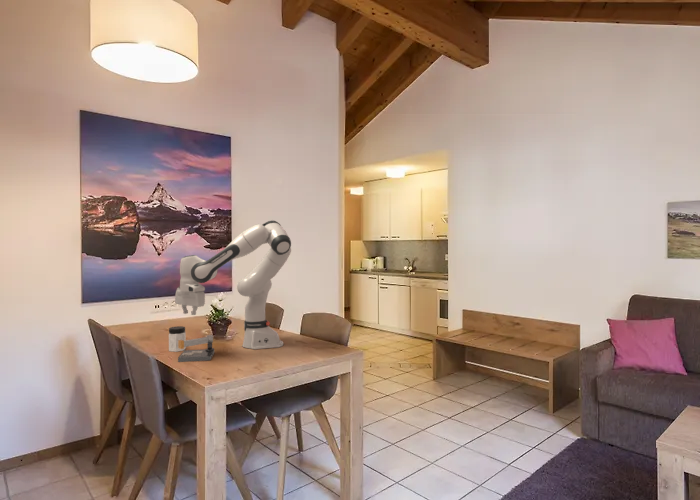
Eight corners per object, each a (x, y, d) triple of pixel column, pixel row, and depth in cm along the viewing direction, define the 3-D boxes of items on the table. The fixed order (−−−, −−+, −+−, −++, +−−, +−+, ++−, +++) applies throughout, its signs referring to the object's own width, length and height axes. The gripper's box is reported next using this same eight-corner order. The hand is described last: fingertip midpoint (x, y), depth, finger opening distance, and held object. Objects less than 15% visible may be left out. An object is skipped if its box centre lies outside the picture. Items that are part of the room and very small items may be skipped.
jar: (165, 351, 234) (164, 328, 234) (175, 347, 242) (175, 325, 242) (179, 352, 231) (178, 329, 231) (189, 348, 239) (189, 326, 239)
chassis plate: (214, 352, 230) (214, 342, 230) (210, 360, 215) (210, 348, 215) (184, 354, 227) (184, 343, 227) (178, 361, 212) (178, 350, 212)
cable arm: (211, 342, 230) (211, 334, 230) (213, 343, 227) (213, 335, 227) (178, 348, 217) (178, 340, 217) (180, 349, 215) (180, 341, 215)
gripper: (171, 286, 227) (172, 313, 228) (196, 288, 216) (196, 316, 216) (182, 285, 233) (182, 311, 233) (207, 287, 221) (207, 315, 221)
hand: (189, 314), depth 224 cm, fingers open, 5 cm apart
